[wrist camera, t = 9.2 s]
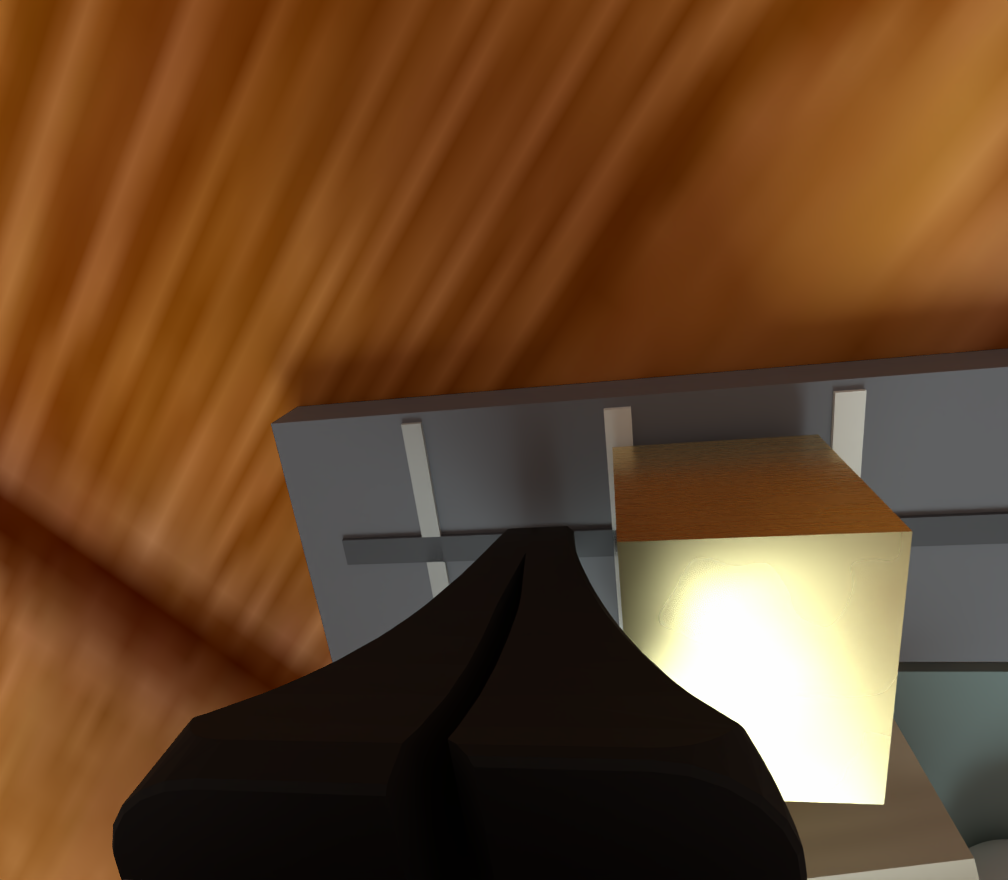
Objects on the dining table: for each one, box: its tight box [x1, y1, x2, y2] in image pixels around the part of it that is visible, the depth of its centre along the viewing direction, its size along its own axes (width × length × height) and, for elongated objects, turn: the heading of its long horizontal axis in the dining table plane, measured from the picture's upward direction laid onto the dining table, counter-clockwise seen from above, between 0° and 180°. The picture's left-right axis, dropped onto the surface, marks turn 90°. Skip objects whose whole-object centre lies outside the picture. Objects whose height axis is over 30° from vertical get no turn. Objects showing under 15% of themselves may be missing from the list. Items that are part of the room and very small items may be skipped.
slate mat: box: [893, 662, 1008, 848], centre depth 15 cm, size 8×14×1 cm, turn 97°
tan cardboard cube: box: [612, 434, 912, 805], centre depth 10 cm, size 4×4×4 cm
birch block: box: [785, 719, 979, 880], centre depth 13 cm, size 4×4×4 cm
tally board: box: [271, 349, 1008, 662], centre depth 13 cm, size 6×19×1 cm, turn 97°
